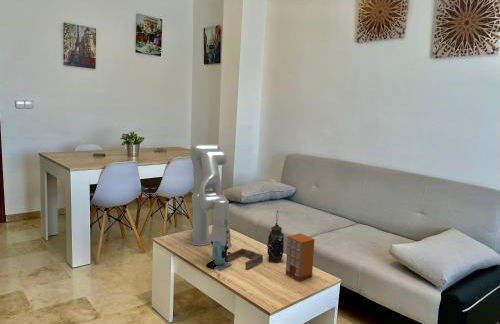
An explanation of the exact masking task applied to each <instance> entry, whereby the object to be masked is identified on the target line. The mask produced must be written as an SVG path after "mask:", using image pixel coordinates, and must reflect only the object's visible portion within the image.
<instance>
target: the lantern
mask: <svg viewBox="0 0 500 324" xmlns="http://www.w3.org/2000/svg"><path fill="white" fill-rule="evenodd" d="M278 213H279V210H277V211H276V214H275V216H276V217H275V221H276V222H275V223H274V224H275V225H274V226H271V227H270V229H271V231H270V232H269V233H268V234H269V235H268V239H267V245H266V247H267V253H266V254H267V255H268V258H267V261H269V262H270V263H281V262H282V258H283V256H284V245H285V243H284V241H285V240H284V238H285V237H284V236H285V234H284V233H283V232H282V230H283V228H282V227H281V226H279V224H278V220H279V218H278Z"/></svg>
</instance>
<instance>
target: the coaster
mask: <svg viewBox="0 0 500 324" xmlns="http://www.w3.org/2000/svg"><path fill="white" fill-rule="evenodd" d="M231 266H233V263H231V262H229V263H228V262H226V261H225V264H223V265H218V266H216V267H214V268H213V269H215V270H217V269H218V271H222V269H223V270H224V269H225V270H226V269H227V268H229V267H231Z"/></svg>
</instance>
